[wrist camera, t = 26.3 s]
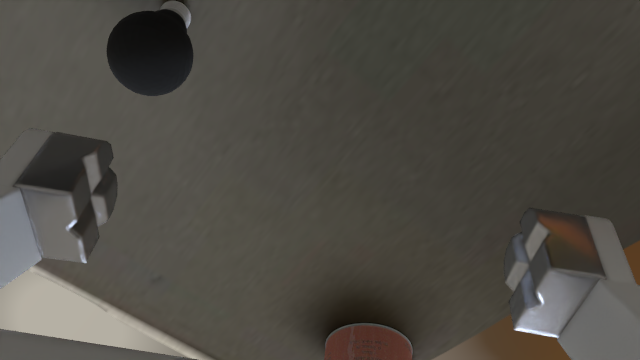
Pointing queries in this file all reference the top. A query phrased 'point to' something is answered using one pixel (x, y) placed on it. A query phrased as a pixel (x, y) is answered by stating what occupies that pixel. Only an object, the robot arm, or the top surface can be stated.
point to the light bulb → (152, 49)
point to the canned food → (367, 343)
